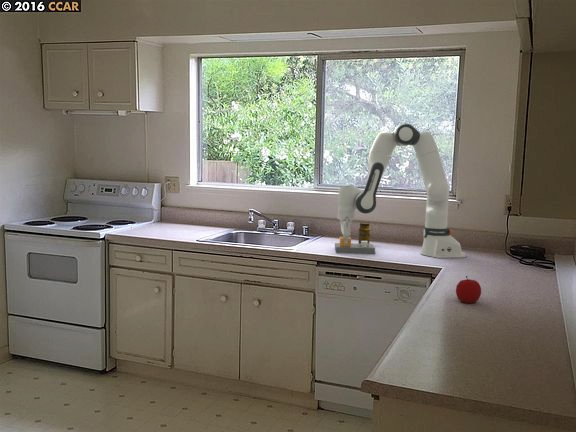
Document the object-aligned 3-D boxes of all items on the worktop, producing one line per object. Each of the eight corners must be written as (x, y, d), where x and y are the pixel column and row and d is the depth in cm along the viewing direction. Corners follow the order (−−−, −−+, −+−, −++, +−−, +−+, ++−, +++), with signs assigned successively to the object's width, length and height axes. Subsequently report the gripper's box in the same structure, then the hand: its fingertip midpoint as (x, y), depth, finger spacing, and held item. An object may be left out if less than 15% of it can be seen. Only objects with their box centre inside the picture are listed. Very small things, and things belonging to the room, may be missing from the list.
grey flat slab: (372, 249, 329) (372, 242, 328) (374, 254, 317) (375, 247, 316) (334, 248, 329) (334, 241, 329) (335, 252, 317) (336, 246, 317)
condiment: (372, 245, 342) (373, 223, 340) (362, 246, 336) (363, 225, 335) (362, 243, 347) (363, 222, 346) (352, 244, 341) (353, 223, 340)
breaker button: (366, 250, 324) (367, 240, 324) (367, 251, 321) (367, 241, 321) (360, 250, 324) (361, 240, 324) (361, 251, 322) (361, 241, 321)
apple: (469, 306, 225) (471, 279, 224) (449, 300, 232) (451, 274, 231) (485, 303, 230) (487, 276, 229) (465, 297, 238) (467, 271, 236)
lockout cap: (350, 244, 326) (350, 236, 325) (350, 246, 320) (351, 238, 319) (339, 244, 326) (339, 236, 325) (340, 246, 320) (340, 238, 320)
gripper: (353, 219, 310) (352, 246, 312) (350, 213, 331) (349, 238, 332) (341, 218, 310) (340, 245, 312) (338, 213, 331) (338, 238, 333)
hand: (345, 242), depth 323 cm, fingers closed on lockout cap, 6 cm apart
